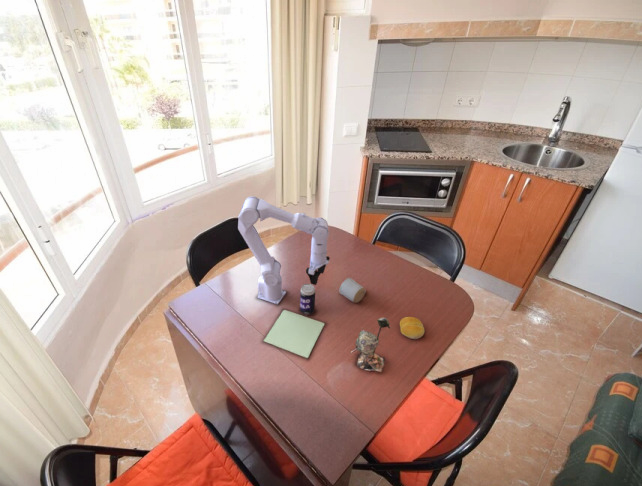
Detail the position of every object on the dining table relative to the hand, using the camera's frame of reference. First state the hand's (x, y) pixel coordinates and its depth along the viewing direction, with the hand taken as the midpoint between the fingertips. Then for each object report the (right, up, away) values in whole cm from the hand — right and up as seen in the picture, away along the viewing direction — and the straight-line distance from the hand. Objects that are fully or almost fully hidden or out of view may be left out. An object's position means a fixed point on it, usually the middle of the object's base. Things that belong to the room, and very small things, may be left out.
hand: (317, 278), depth 127 cm
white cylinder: (+16, -8, +6) cm, 19 cm away
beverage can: (-4, -13, 0) cm, 14 cm away
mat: (-9, -19, -9) cm, 23 cm away
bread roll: (+33, -18, -9) cm, 39 cm away
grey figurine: (+14, -26, -20) cm, 36 cm away
